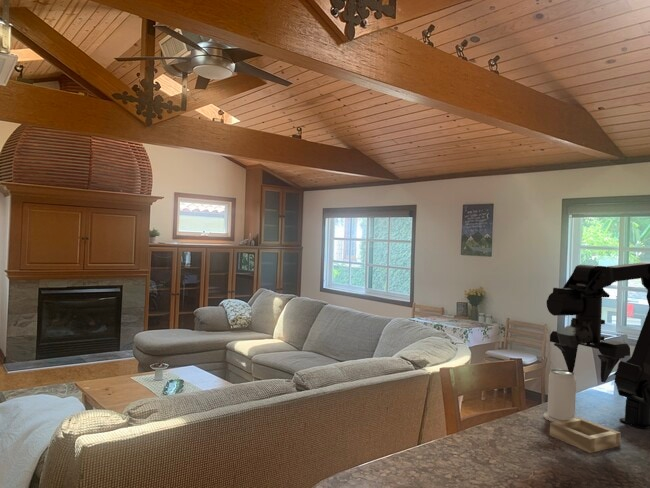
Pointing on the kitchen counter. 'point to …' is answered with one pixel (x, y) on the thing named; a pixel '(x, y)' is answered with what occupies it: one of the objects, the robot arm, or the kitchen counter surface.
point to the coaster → (550, 418)
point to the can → (561, 394)
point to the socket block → (592, 441)
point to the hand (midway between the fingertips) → (586, 377)
